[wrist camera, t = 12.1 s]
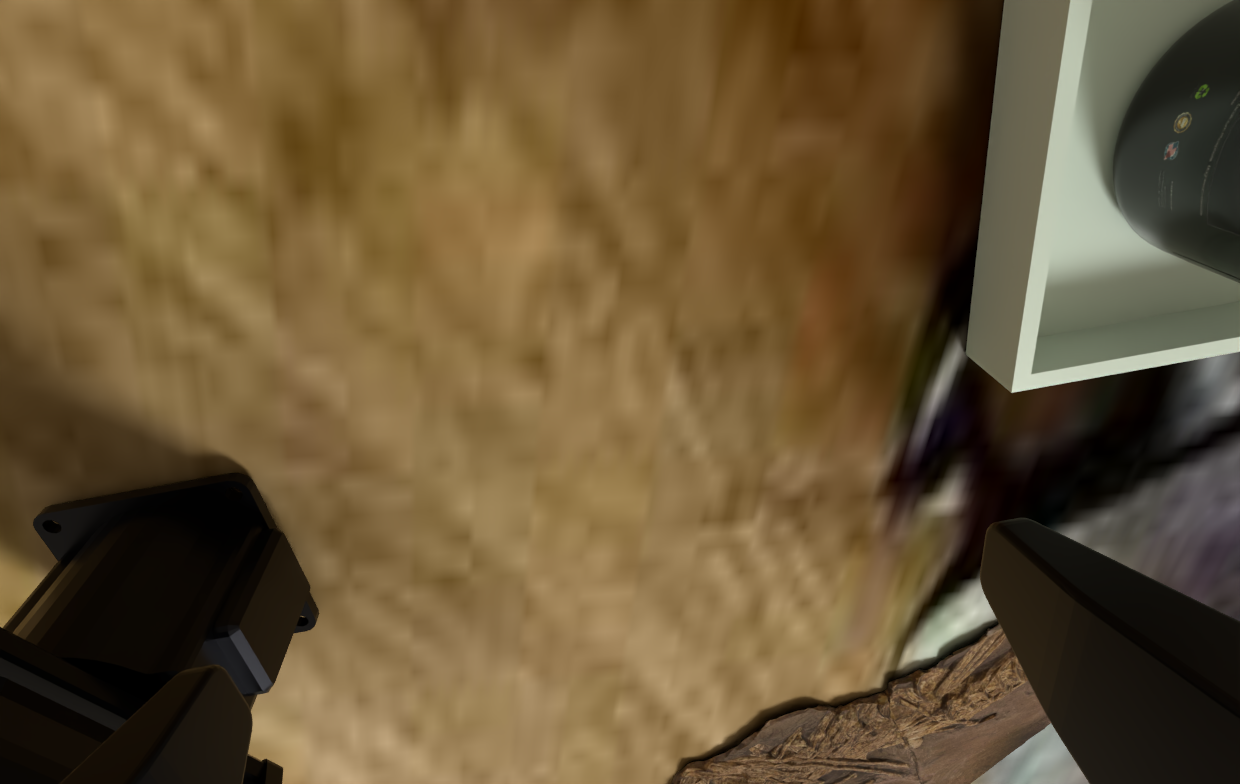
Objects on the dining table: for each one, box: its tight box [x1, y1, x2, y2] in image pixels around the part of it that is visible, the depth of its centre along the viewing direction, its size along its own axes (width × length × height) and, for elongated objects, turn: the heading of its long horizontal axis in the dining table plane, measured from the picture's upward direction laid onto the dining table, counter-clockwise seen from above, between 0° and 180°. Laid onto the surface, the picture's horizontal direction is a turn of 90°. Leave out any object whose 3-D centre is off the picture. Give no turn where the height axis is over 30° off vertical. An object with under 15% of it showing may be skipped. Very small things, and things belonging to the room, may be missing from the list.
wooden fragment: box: [672, 624, 1051, 784], centre depth 33 cm, size 26×11×1 cm, turn 117°
